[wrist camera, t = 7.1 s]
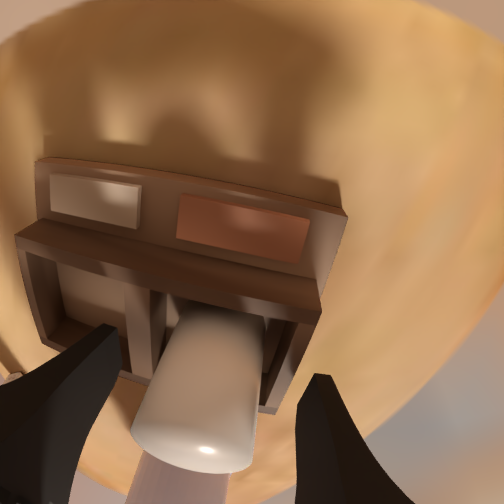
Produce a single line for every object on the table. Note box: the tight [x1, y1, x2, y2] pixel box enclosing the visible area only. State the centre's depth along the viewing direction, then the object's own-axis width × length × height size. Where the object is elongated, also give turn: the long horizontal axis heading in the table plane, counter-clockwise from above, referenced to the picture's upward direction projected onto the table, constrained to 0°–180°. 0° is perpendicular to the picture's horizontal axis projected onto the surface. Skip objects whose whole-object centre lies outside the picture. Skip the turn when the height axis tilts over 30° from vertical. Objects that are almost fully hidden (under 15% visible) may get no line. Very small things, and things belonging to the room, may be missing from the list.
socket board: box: [15, 157, 348, 415], centre depth 11 cm, size 9×13×3 cm
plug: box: [130, 300, 266, 474], centre depth 10 cm, size 4×4×6 cm
